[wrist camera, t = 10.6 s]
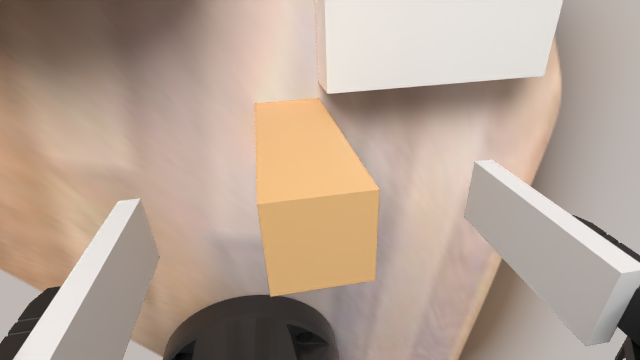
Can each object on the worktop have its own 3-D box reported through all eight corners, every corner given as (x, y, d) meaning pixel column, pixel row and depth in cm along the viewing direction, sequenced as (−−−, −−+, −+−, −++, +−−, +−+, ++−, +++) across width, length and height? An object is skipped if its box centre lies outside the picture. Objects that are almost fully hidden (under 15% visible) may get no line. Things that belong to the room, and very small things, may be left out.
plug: (321, 156, 24) (375, 280, 13) (262, 162, 23) (270, 296, 13) (318, 98, 22) (379, 189, 12) (254, 103, 21) (257, 204, 11)
